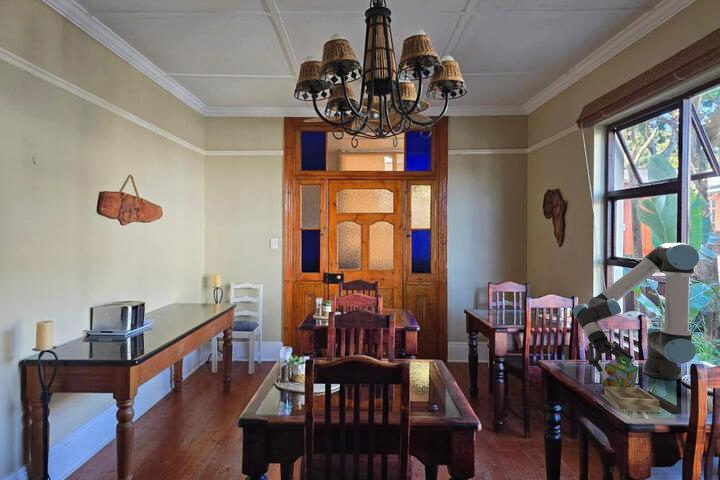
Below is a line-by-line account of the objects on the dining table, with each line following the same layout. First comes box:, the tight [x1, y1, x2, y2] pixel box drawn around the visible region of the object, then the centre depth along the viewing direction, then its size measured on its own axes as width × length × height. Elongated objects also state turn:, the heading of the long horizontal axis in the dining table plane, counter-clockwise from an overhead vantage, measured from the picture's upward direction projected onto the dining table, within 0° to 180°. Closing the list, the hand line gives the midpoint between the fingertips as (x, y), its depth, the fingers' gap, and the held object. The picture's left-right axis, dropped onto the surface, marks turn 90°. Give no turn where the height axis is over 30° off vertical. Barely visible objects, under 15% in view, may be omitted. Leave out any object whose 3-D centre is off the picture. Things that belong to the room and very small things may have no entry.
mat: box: [600, 394, 664, 413], centre depth 170 cm, size 16×16×1 cm
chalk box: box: [602, 356, 639, 388], centre depth 182 cm, size 9×9×15 cm
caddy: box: [603, 386, 660, 411], centre depth 170 cm, size 14×14×4 cm
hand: (621, 376), depth 181 cm, fingers open, 13 cm apart
